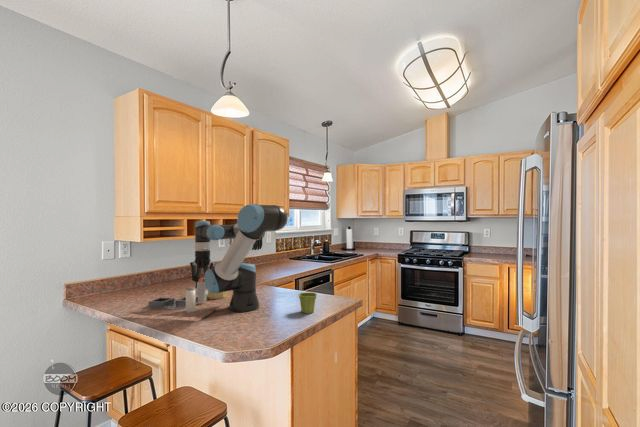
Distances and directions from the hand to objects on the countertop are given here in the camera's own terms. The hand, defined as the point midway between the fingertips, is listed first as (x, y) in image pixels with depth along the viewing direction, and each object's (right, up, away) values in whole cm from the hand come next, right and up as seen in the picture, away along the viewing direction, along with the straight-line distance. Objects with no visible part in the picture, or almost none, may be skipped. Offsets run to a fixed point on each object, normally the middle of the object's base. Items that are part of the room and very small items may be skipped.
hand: (202, 294), depth 169 cm
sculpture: (+3, -7, +14) cm, 16 cm away
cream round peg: (-1, -6, -13) cm, 15 cm away
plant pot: (+56, -6, -10) cm, 57 cm away
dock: (-14, -6, -2) cm, 16 cm away
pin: (0, -4, 0) cm, 4 cm away
